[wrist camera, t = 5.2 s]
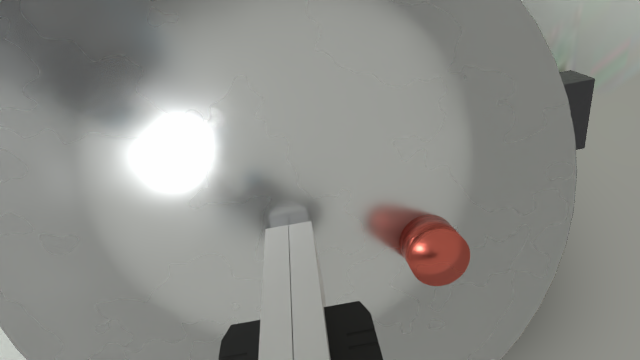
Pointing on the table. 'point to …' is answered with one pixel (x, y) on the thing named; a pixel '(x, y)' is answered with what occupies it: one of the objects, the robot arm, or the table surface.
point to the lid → (277, 170)
